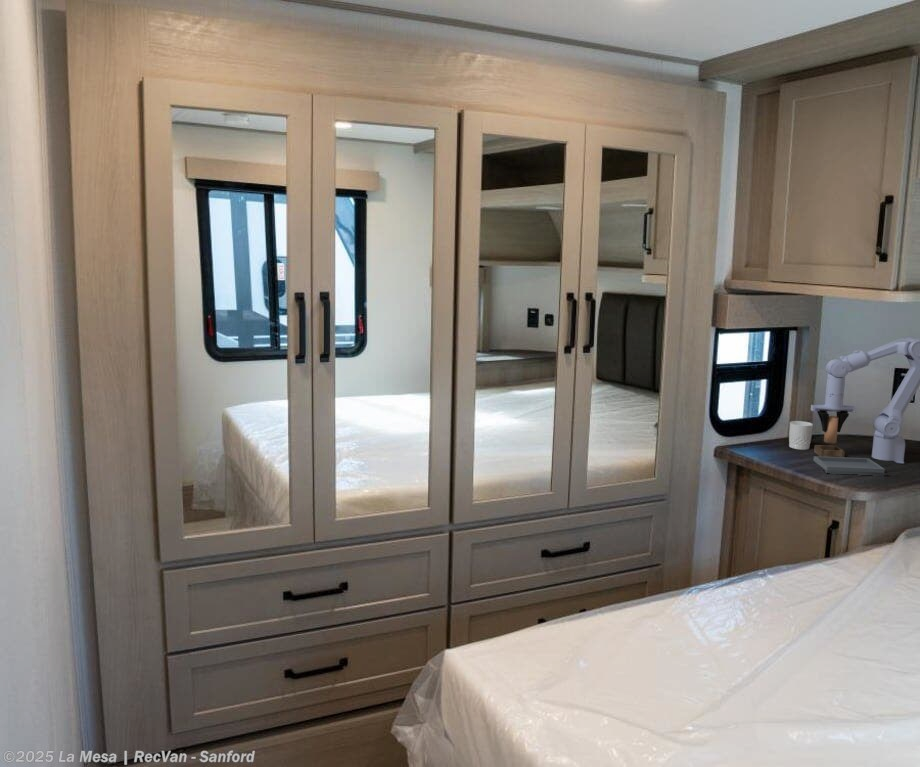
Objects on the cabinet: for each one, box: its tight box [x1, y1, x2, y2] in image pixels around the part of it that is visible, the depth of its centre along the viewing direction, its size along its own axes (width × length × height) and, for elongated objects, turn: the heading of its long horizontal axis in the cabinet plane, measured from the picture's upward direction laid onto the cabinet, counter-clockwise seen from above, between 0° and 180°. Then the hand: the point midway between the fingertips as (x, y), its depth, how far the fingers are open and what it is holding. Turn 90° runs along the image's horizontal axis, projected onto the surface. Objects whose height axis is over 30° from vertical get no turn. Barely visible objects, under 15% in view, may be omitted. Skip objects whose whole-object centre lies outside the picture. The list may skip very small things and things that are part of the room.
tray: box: [813, 455, 886, 477], centre depth 257 cm, size 18×13×2 cm
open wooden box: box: [813, 444, 846, 457], centre depth 272 cm, size 8×8×4 cm
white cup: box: [788, 420, 814, 451], centre depth 282 cm, size 8×8×10 cm
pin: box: [823, 415, 839, 444], centre depth 270 cm, size 4×4×9 cm
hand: (831, 431), depth 271 cm, fingers closed on pin, 4 cm apart
